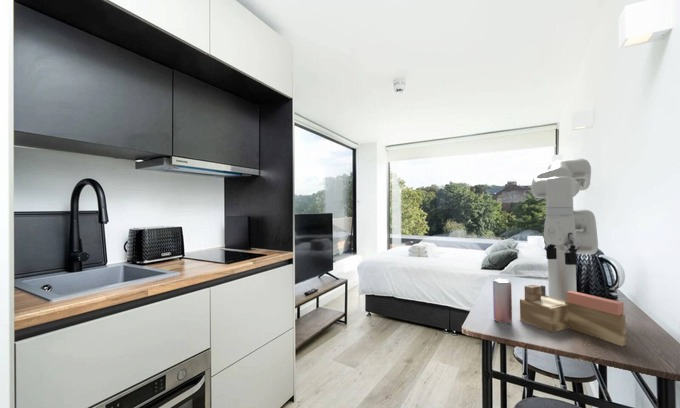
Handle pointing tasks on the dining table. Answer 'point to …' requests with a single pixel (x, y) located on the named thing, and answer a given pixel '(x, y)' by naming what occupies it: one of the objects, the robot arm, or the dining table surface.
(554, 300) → the lid
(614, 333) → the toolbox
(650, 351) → the dining table surface
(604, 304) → the pink rectangular block
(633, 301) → the dining table surface
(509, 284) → the beverage can
